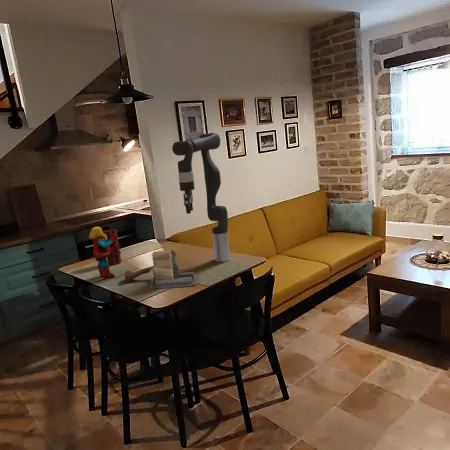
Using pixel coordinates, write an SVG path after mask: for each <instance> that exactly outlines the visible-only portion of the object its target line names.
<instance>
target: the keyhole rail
mask: <svg viewBox="0 0 450 450" xmlns="http://www.w3.org/2000/svg"><path fill="white" fill-rule="evenodd" d="M149 274H150V281H151V283H150V284H151V285H150V286H149V289H150V290H154V289H171V288H184V287H185V288H187V287H188V288H189V287H197V284H198V281H199V278H200V275H199V274H195V273H194V272H193V271H191V272H178V273H175V274H174V278H170V279H156V280H155V273H154V268H152V269H151V270H150V272H149Z"/></svg>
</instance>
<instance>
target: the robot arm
mask: <svg viewBox="0 0 450 450" xmlns="http://www.w3.org/2000/svg"><path fill="white" fill-rule="evenodd" d="M220 137H221V136H219V134H218V133H216V132H210V133H208V132H206V133H202V134H200V135H199V137H195V138H190V139H187V140H180V141H178V140H177V141H175V142H174V143H173V144H172V147H171V148H172V153H173V154H174V155H175V156H184V158H183V159H182V160H179V161H178V162H177V169H178V171H177V172H178V183H179V191H181V192H184V193H183V194H182V195H183V196H182V197H183V206H184V207H185V212H186V213H185V214H187V215H189V214H191V213H192V211H193V210H194V207H193V202H194V199H193V191H194V190H195V180H194V179H195V178H194V173H193V165H192V162H193V156H194V155H193V154H194V153H197V152H200V153H201V159H202V165H203V173H204V183H205V190H206V213H207V217H208V219H209V221H211V222H217V225H216V226H214V227H212V229H211V234H212V242H213V243H212V245H213V253H214V254H213V255H214V261H215V262H218V263H222V262H223V263H225V262H228V261H230V259H231V255H230V254H231V253H230V243H229V242H230V241H229V233H228V228H229V218H228V217H229V215H228V210H227V207H226V206H225V205H217V202H216V200H217V199H216V197H217V195H218V192H219V189H220V187H221V185H222V179H221V178H222V177H221V171H220V170H219V168H218V166H217V165H216V164H215V162H214V161H213V159H212V157H211V154H210V150H212V151H213V150H216V149H219V147H220V146H221V138H220Z"/></svg>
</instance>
